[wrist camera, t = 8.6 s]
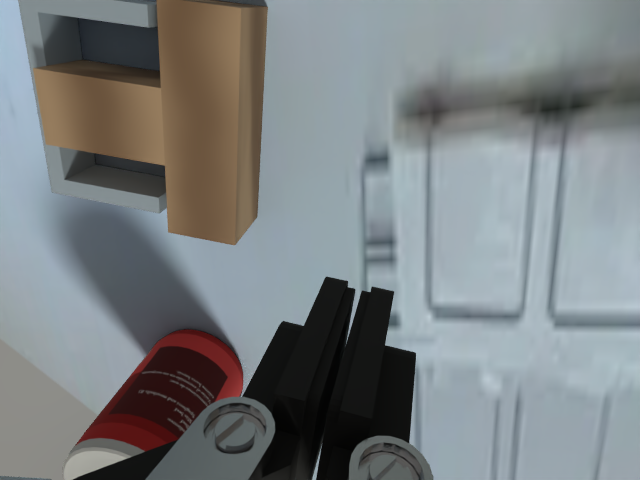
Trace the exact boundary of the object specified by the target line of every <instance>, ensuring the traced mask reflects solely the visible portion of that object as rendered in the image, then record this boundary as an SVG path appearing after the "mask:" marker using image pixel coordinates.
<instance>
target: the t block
mask: <svg viewBox="0 0 640 480" xmlns="http://www.w3.org/2000/svg"><path fill="white" fill-rule="evenodd" d="M156 1H157V21H158V40H159V60H160V71H155V70H148V69H142V68H135V67H129V66H122V65H115V64H109V63H102V62H96V61H89V60H77V61H72V62H66V63H60V64H54V65H48V66H42V67H37V68H33V72H34V78H35V84H36V90H37V96H38V101H39V107H40V113H41V119H42V125H43V130H44V136H45V142H46V145H52V146H57V147H63V148H69V149H74V150H80V151H85V152H91V153H97V154H102V155H108V156H113V157H119V158H125V159H130V160H136V161H142V162H147V163H153V164H158V165H164V166H165V178H166V197H167V217H168V232H170V233H175V234H180V235H185V236H190V237H195V238H200V239H205V240H210V241H215V242H220V243H225V244H231V245H236V243H237V242H238V241H239V240H240V238H241V237H242V236H243V234H244V233H245V232H246V231H247V229H248V228H249V227H250V225H251V224H252V223H253V222H254V220H255V219H256V218H257V213H258V192H259V172H260V152H261V132H262V111H263V91H264V71H265V50H266V30H267V10H268V7H264V6H256V5H249V4H241V3H233V2H225V1H218V0H156Z"/></svg>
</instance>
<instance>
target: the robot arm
mask: <svg viewBox="0 0 640 480" xmlns="http://www.w3.org/2000/svg"><path fill="white" fill-rule="evenodd" d="M354 295H355V289H353V288H348V281H344V280H340V279H335V278H331V277H326V278H325V279H324V282H323V284H322V286H321V289H320V291H319V293H318V295H317V298H316V300H315V302H314V304H313V307H312V309H311V311H310V313H309V316H308V318H307V320H306V322H305V325H304V326H302V325H298V324H293V323H289V322H285V321H283V322H281V324H280V325H279V327H278V329H277V331H276V333H275V335H274V337H273V339H272V341H271V343H270V344H269V346H268V348H267V350H266V352H265V354H264V356H263V358H262V360H261V362H260V364H259V366H258V367H257V369H256V371H255V373H254V375H253V377H252V379H251V381H250V383H249V385H248V387H247V389H246V391H245V392H244V394H243V396H242V397H229V398H224V399H220V400H218V401H216V402H214V403H212V404H210V405H209V406H208V407H207V408H206V409H204V410H203V411H202V412H201V413H200V415H199V416H198V417H197V418H196V419H195V421H194V422H193V423H192V424H191V425H190V427H189V428H188V429H187V430H186V431H185V433H184V434H183V435H182V436H181V437H180V439H178V440H175V441H172V442H170V443H167V444H164V445H162V446H159V447H156V448H154V449H151V450H148V451H146V452H143V453H140V454H138V455H135V456H132V457H130V458H127V459H124V460H122V461H119V462H116V463H114V464H111V465H108V466H106V467H103V468H100V469H98V470H95V471H92V472H90V473H87V474H84V475H82V476H79V477H77V478H75V479H73V480H312V477H313V474H314V470H315V467H316V463H317V459H318V456H319V452H320V449H321V454H320V460H319V466H318V472H317V478H316V480H433V475H432V472H431V469H430V465H429V464H428V462H427V461H426V459H425V458H424V456H423V455H422V454H421V453H420V452H419V451H418V450H417V449H416V448H415V447H414V446H413V445H411V444H409V439H410V426H411V413H412V401H413V388H414V375H415V363H416V353H415V352H410V351H406V350H402V349H398V348H394V347H390V346H385V341H386V335H387V330H388V324H389V318H390V312H391V307H392V301H393V295H394V291H389V290H385V289H380V288H376V287H372V289H371V292H366V291H362V292H361V296H360V299H359V303H358V306H357V309H356V313H355V316H354V320H353V323H352V327H351V330H350V334H349V337H348V340H347V335H348V330H349V324H350V318H351V312H352V306H353V301H354ZM346 341H347V344H346ZM321 445H322V448H321ZM0 480H51V479H42V478H25V477H9V476H0Z"/></svg>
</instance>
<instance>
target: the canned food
mask: <svg viewBox="0 0 640 480" xmlns="http://www.w3.org/2000/svg"><path fill="white" fill-rule="evenodd" d="M242 389H243V371H242V367H241V364H240V362H239V360H238V358H237V357H236V355H235V354H234V353H233V351H232V350H231V349H230V348H229V347H228V346H227V345H226V344H224V343H223V342H222V341H221V340H219V339H218V338H216V337H214V336H212V335H210V334H207V333H205V332H202V331H197V330H186V329H184V330H179V331H175V332H173V333H170V334H169V335H167V336H165V337H164V338H162V339H161V340H159V341H158V342H157V343H156V344H155V346H154V347H153V348H152V349H151V351H150V352H149V353H148V354H147V356H146V357H145V358H144V359H143V361H142V362H141V363H140V364H139V366H138V367H137V368H136V369H135V371H134V372H133V373H132V374H131V376H130V377H129V378H128V379H127V380H126V382H125V383H124V384H123V385H122V387H121V388H120V389H119V390H118V392H117V393H116V394H115V395H114V397H113V398H112V399H111V400H110V402H109V403H108V404H107V405H106V407H105V408H104V409H103V410H102V412H101V413H100V414H99V415H98V417H97V418H96V419H95V420H94V422H93V423H92V424H91V425H90V427H89V428H88V429H87V430H86V432H85V433H84V435H83V436H82V437H81V439H80V440H79V441H78V442H77V444H76V445H75V446H74V448H73V449H72V450H71V452H70V453H69V455H68V457H67V459H66V460H65V461H64V464H63V468H62V472H63V479H64V480H73V479H75V478H77V477H79V476H82V475H84V474H87V473H90V472H92V471H95V470H98V469H100V468H103V467H106V466H108V465H111V464H114V463H116V462H119V461H122V460H124V459H127V458H130V457H132V456H135V455H138V454H140V453H143V452H146V451H148V450H151V449H154V448H156V447H159V446H162V445H164V444H167V443H170V442H172V441H175V440H178V439H180V437H181V436H182V435H183V434H184V433H185V431H186V430H187V429H188V428H189V427H190V425H191V424H192V423H193V422H194V421H195V419H196V418H197V417H198V416H199V415H200V413H201V412H202V411H203V410H204V409H206V408H207V407H208V406H209V405H210V404H212V403H214V402H216V401H218V400H220V399H224V398H229V397H241V393H242Z"/></svg>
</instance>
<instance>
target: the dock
mask: <svg viewBox="0 0 640 480" xmlns="http://www.w3.org/2000/svg"><path fill="white" fill-rule="evenodd" d="M18 2H19V7H20V13H21V19H22V25H23V30H24V36H25V42H26V48H27V53H28V59H29V65H30V70H31V76H32V82H33V88H34V93H35V99H36V105H37V110H38V116H39V122H40V128H41V133H42V139H43V145H44V151H45V156H46V162H47V168H48V173H49V179H50V185H51V191H52V193H56V194H62V195H67V196H72V197H77V198H82V199H87V200H93V201H98V202H103V203H108V204H113V205H118V206H124V207H129V208H134V209H139V210H144V211H149V212H155V213H161V212H162V211H163V210H165V209H166V208H167V197H166V178H165V177H161V176H156V175H150V174H145V173H139V172H134V171H128V170H123V169H117V168H112V167H106V166H101V165H96V164H95V156H94V153H91V152H85V151H80V150H74V149H69V148H63V147H57V146H52V145H46V142H45V136H44V130H43V125H42V119H41V113H40V107H39V101H38V96H37V90H36V84H35V78H34V72H33V68H37V67H42V66H48V65H54V64H60V63H66V62H72V61H77V60H83V58H82V50H81V42H80V34H79V26H78V18H84V19H91V20H98V21H105V22H112V23H119V24H126V25H134V26H141V27H148V28H150V27H158V21H157V2H155V1H148V0H18Z"/></svg>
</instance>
